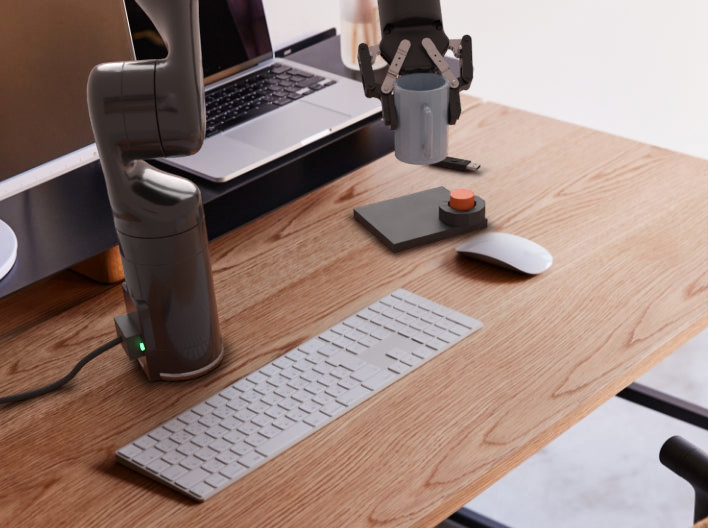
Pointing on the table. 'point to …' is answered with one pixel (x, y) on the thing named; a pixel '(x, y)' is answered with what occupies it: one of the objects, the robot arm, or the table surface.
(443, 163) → the usb flash drive
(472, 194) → the warmer button
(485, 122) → the table surface
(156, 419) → the table surface
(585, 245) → the table surface
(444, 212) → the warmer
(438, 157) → the mug
